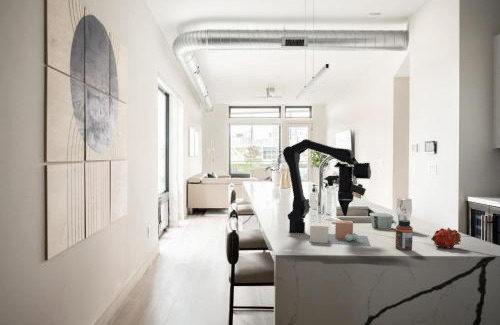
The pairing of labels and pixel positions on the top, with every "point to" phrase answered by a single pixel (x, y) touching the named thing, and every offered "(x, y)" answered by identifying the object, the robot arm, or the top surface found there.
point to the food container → (381, 220)
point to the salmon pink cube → (343, 228)
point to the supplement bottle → (404, 235)
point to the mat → (359, 242)
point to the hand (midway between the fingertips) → (344, 214)
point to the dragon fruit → (446, 238)
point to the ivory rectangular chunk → (319, 232)
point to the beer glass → (404, 209)
